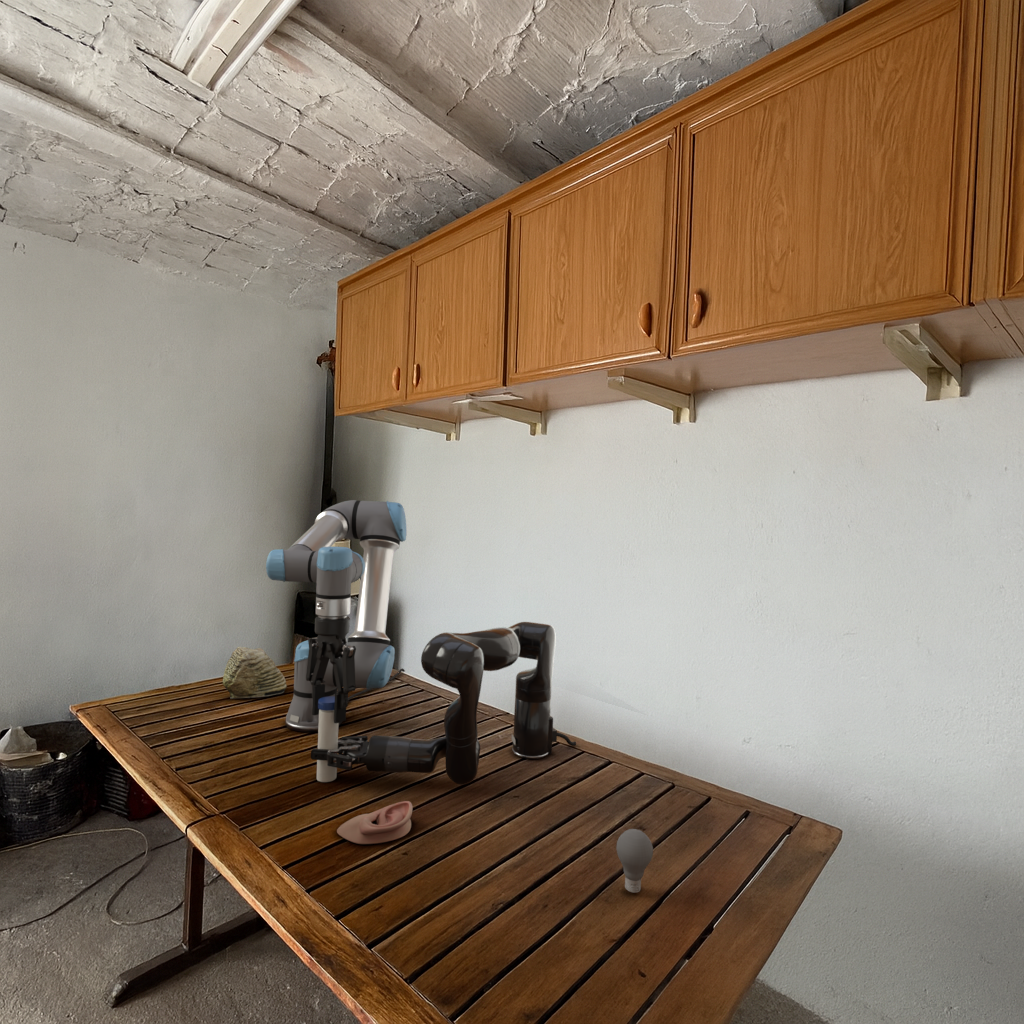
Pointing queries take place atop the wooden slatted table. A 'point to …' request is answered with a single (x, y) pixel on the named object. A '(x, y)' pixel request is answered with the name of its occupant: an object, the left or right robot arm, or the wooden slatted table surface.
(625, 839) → the light bulb
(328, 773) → the white cylindrical bottle
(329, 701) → the lid
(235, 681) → the fossil
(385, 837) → the anatomical model
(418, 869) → the wooden slatted table surface
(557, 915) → the wooden slatted table surface
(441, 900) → the wooden slatted table surface
